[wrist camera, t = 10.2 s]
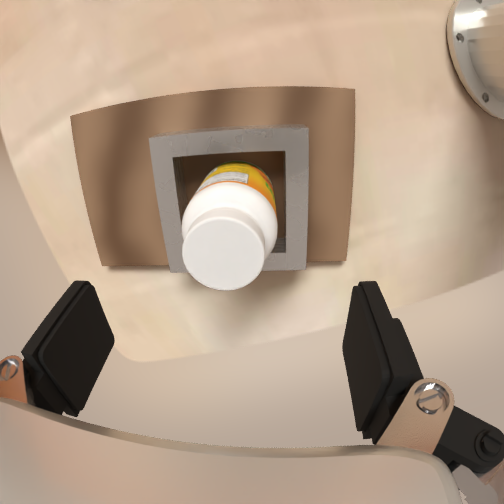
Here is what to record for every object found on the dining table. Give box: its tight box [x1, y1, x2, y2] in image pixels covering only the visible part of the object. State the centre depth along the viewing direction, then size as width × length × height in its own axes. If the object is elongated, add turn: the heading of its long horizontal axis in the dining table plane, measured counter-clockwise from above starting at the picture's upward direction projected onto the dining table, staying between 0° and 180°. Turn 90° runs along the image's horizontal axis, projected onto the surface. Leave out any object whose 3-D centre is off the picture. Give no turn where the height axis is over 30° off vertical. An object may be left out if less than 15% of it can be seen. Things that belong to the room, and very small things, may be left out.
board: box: [70, 86, 355, 266], centre depth 23 cm, size 22×14×1 cm, turn 93°
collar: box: [149, 124, 309, 273], centre depth 22 cm, size 10×10×2 cm
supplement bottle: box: [182, 160, 278, 291], centre depth 19 cm, size 5×5×10 cm
